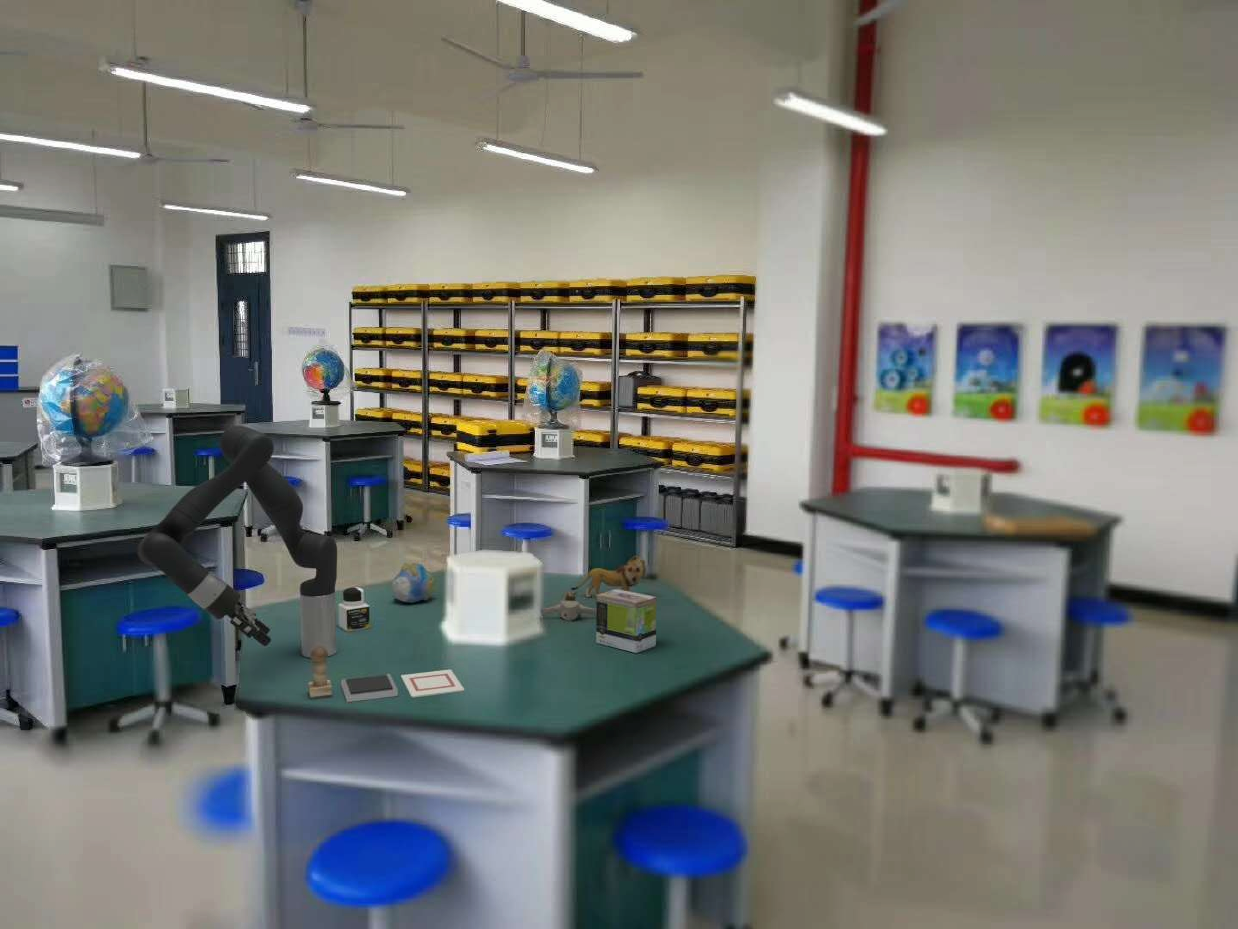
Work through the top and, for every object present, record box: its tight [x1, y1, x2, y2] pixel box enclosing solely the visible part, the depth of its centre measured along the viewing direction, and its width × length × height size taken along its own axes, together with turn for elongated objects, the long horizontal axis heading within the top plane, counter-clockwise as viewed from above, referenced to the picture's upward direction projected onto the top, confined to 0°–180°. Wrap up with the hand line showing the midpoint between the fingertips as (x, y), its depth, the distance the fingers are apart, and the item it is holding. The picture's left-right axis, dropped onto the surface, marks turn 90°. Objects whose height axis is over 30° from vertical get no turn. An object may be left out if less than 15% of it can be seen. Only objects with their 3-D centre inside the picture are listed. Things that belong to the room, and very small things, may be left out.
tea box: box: [595, 588, 657, 654], centre depth 277 cm, size 15×10×15 cm, turn 51°
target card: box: [400, 669, 465, 699], centre depth 244 cm, size 16×13×1 cm
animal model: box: [570, 555, 647, 598], centre depth 328 cm, size 9×26×15 cm, turn 77°
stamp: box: [308, 647, 333, 700], centre depth 235 cm, size 5×5×12 cm
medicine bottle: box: [337, 586, 371, 633], centre depth 291 cm, size 7×7×12 cm
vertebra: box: [540, 589, 596, 622], centre depth 304 cm, size 20×11×10 cm, turn 92°
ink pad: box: [341, 673, 399, 703], centre depth 238 cm, size 12×12×2 cm
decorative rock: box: [391, 562, 436, 604], centre depth 322 cm, size 13×15×14 cm
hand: (267, 638), depth 229 cm, fingers open, 8 cm apart
